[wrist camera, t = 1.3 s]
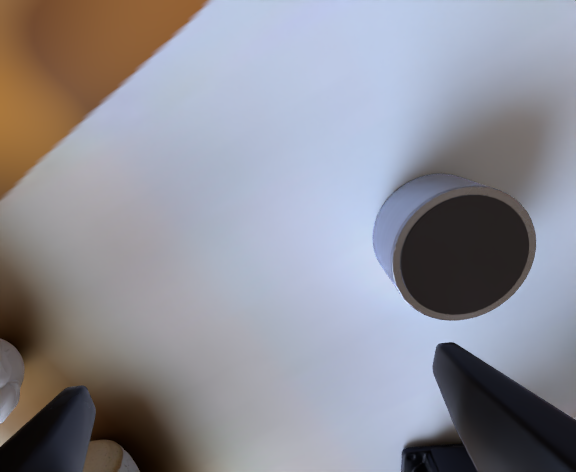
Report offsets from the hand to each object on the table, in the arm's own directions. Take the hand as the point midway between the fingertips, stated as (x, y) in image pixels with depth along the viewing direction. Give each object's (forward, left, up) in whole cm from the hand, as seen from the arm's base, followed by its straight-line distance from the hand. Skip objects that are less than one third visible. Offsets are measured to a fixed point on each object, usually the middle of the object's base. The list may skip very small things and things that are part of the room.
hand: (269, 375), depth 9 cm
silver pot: (-1, -9, -13) cm, 16 cm away
